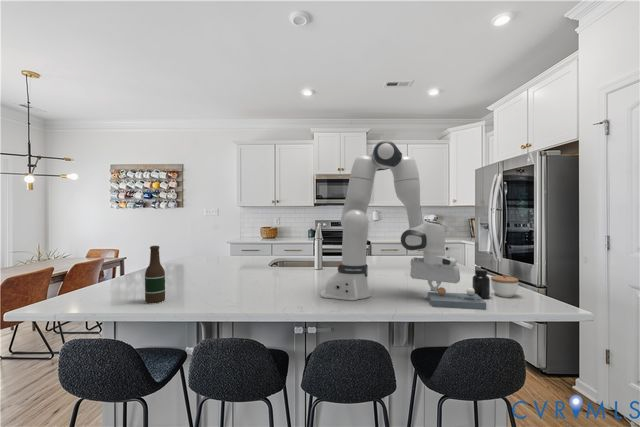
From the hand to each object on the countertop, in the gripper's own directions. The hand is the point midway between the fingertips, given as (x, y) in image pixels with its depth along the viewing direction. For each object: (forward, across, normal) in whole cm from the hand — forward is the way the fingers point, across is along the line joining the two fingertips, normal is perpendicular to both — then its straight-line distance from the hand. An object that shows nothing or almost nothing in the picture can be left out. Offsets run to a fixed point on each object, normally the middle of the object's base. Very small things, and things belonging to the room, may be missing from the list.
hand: (434, 291), depth 138 cm
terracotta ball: (0, +3, 0) cm, 3 cm away
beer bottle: (+4, -97, -71) cm, 120 cm away
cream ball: (0, +13, +7) cm, 15 cm away
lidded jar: (+4, +23, +25) cm, 34 cm away
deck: (+4, +8, 0) cm, 9 cm away
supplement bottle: (+4, +15, +16) cm, 22 cm away
